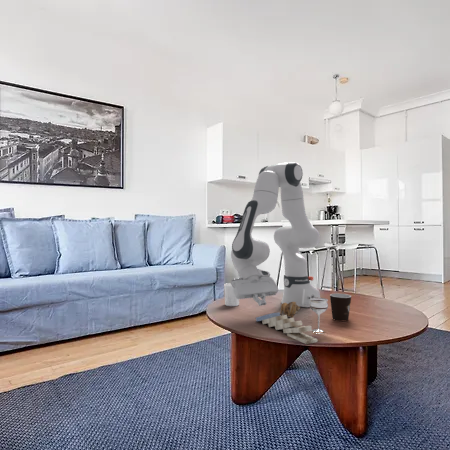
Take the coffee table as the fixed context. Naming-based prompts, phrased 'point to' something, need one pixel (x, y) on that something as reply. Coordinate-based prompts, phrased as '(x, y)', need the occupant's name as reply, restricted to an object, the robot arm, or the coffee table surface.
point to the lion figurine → (289, 309)
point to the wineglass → (318, 308)
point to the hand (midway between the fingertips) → (262, 304)
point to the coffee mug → (340, 306)
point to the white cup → (230, 295)
